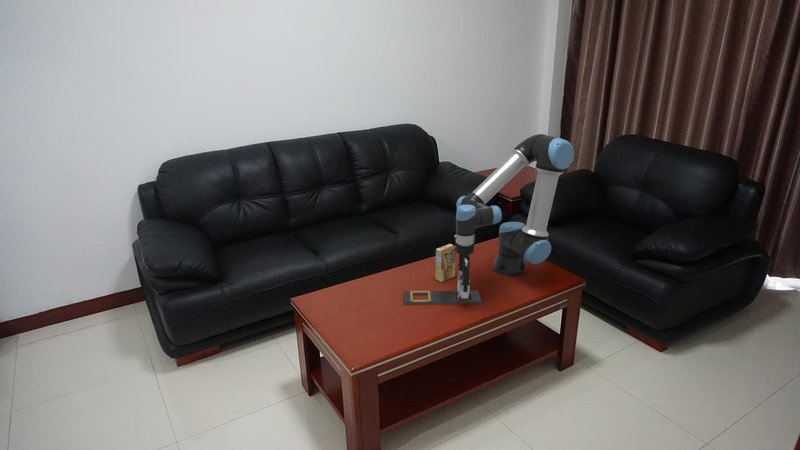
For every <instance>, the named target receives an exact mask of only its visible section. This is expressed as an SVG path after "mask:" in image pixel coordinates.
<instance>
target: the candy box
mask: <svg viewBox="0 0 800 450" xmlns="http://www.w3.org/2000/svg"><path fill="white" fill-rule="evenodd" d="M456 254H457V252H456V251H455V245H453V244H451V243H448V244H446V245H443V246H440V247H438V248H436V249H435V277H434V278H435V280H437V281H438V282H444V281H446V280H449V279H452V278H455V277H456V276H455V275H456Z"/></svg>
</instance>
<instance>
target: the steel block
mask: <svg viewBox="0 0 800 450" xmlns="http://www.w3.org/2000/svg"><path fill="white" fill-rule="evenodd" d="M461 283H462V275H459V274H457V288H456V291H457V295H456V296H457V297H456V299H457V300H470V295H469V291H470V290H471V289H470V285H471V278H470V277H469V283H470V285H469V291H468V298H461V295H462V285H461Z"/></svg>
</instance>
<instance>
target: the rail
mask: <svg viewBox="0 0 800 450" xmlns="http://www.w3.org/2000/svg"><path fill="white" fill-rule="evenodd" d="M414 296H427V299H413V298H414ZM456 296H457V290H407V291H403V305H463V304H464V305H469V304H470V305H473V304H474V305H475V304H476V305H480V304H482V299H481V296H480V292H479V290H469V298H470V299H469V300H458V299H457V297H456Z"/></svg>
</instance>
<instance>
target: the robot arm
mask: <svg viewBox="0 0 800 450" xmlns="http://www.w3.org/2000/svg"><path fill="white" fill-rule="evenodd" d="M574 159H575V151H574V147H573V146H572V143H570V142H569V141H568V140H566V139H563V138H561V137H555V136H551V135H546V134H543V133H542V134H541V133H537V134H534V135H532V136H529V137H527V138H525V139H523V141H521V142H520V143H519V144H517V145H516V146H515V147H514V148H513V149H512V150H511V154H510V155H509V156H508V157H507V158H506V159H505V160H504V161H503V162H502V163H500V165H499V166H498V167H496V169H494V171H492V173H491V174H490V175H489V176H487V177H486V178H485V179H484V180H483V182H481V183H480V184H479V185H478V186H477V187H476V188H475V189H474V190H473V191H472V192H471V193H470V194H469V195H467V196H466V195H462V196H460V197H459V198H458V199H457V201H456V215H455V235H454V236H453V237H454V238H455V245H454V246H455V251H456V254H458V265H457V266H458V275H462V283H461V285H462V295H461V298H468V291H470V289H469V285H471V282H470V283H469V278H470V264H471V261H470V259H471V258H470V255H473V253H474V251H475V240H476V239H475V237H476V233H475V231H476V229H477V228H481V227H487V226H493V225H495V224H499V223H500V222H501V221H502V219H503V217H502V216H503V213H502V210H501V208H500V206H498V205H489V206H488V205H486V204H487V203H488V202H489V201H490V200H491V199H493V198H494V196H495V195H497V193H498V192H500V190H501V189H502V188H503V187H504V186H505V185H506V184H508V183H509V182H510V181H511V180H512V179H513V178H514V177H515V176H516V175H517V174H518V173H519V172H521V170H522V169H524V167H529V166H530V164H532V163H534V162H536V163H535V170H536V171H537V176H536V180H535V184H534V188H533V193H532V198H531V201H530V207H529V211H528V216H527V220H526V224H525V223H523V222H520V221H507V222H503V223H501V224H500V226H499V230H498V231H499V232H498V245H497V246H498V247H497V249H498V250H497V255H496V257H495V258H494V262H493V266H492V267H493V268H492V269H493V271H494V272H495V273H497V274H499V275H501V276H507V277H518V276H521V275H522V276H523V275H524V274H526V271H527V263H526V262H528V263H531V264H533V265H538V264H541V263H543V262H544V261H545V260H546V259H548V257H549V256H550V254H551V251H552V245H551V243H550V242H549V240H548V239H549V236H550V234H549V232H548V231H547V227H548V224H549V223H548V222H549V219H550V214H551V210H552V206H553V203H554V198H555V194H556V190H557V186H558V181H559V177H560V176H561V175H562V174H564V172H565V170H566V169H567V168H570V165H571V164H572V163H573V161H574Z"/></svg>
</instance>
